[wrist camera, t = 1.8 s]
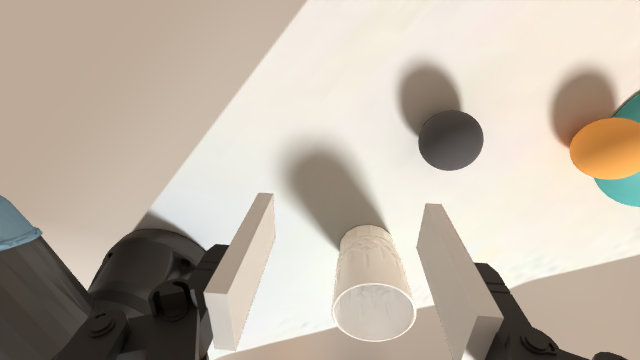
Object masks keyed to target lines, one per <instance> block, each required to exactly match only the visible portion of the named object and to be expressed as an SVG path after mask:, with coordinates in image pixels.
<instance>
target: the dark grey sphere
mask: <svg viewBox="0 0 640 360" xmlns="http://www.w3.org/2000/svg"><path fill="white" fill-rule="evenodd" d="M418 143H419V150H420V153H421V155H422V157H423V158H424V159H425V160H426V161H427V162H428V163H429V164H430V165H431V166H433V167H435V168H437V169H441V170H446V171H452V170H458V169H461V168H464V167H466V166H468V165H469V164H471V163H472V162H473V161H474V160H475V159H476V158H477V157H478V155H479V154H480V152H481V149H482V146H483V132H482V129H481V127H480V125H479V123H478V122H477V121H476V120H475V119H474V118H473V117H472V116H470V115H469V114H467V113H464V112H461V111H454V110H451V111H444V112H441V113H438V114H436V115H434V116H433V117H431V118H430V119H429V120H428V121H427V122H426V123H425V124H424V126H423V127H422V129H421V132H420V134H419V140H418Z"/></svg>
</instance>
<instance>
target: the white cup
mask: <svg viewBox="0 0 640 360" xmlns="http://www.w3.org/2000/svg"><path fill="white" fill-rule="evenodd" d="M332 317H333V320H334V322H335V324H336V325H337V326H338V327H339V329H341V330H342V331H343V332H344V333H346V334H347V335H349V336H351V337H353V338H356V339H359V340H364V341H375V342H376V341H385V340H390V339H393V338H396V337H398V336H400V335H402V334H404V333H405V332H406V331H407V330H408V329H409V328H410V327H411V326H412V325H413V323H414V321H415V318H416V306H415V303H414V300H413V297H412V294H411V290H410V287H409V284H408V280H407V277H406V274H405V271H404V267H403V264H402V262H401V259H400V256H399V253H398V252H397V249H396V246H395V243H394V241H393V239H392V236H391V235H390V234H389V233H388V232H387V231H385V230H384V229H383V228H381V227H377V226H373V225H363V226H357V227H355V228H353V229H351V230H349V231H348V232H346V234H345V235H344V237H343V238H342V240H341V242H340V252H339V257H338V261H337V267H336V275H335V284H334V294H333V303H332Z"/></svg>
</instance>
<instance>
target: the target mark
mask: <svg viewBox="0 0 640 360" xmlns="http://www.w3.org/2000/svg"><path fill="white" fill-rule="evenodd" d="M613 118H626V119H630V120H633V121H636V122H638V123H640V93H639V94H637V95H636V96H634V97H633V98H632V99H631V100H630V101H628V102H627V103H626V104H625V105H624V106H623V107H622V108H621V109H620V110H619V111H618V112H617V113H616V114H615V115H614V116H613ZM595 181H596V183H597V184H598V186H599V188H600V189H601V190H602V191H603V192H604V193H605V194H606V195H607V196H609V197H610V198H612V199H614V200H615V201H617V202H620V203H622V204H626V205H630V206H637V207H640V171H639V172H637V173H635V174H633V175H631V176H628V177H625V178H621V179H598V178H595Z"/></svg>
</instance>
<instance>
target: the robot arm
mask: <svg viewBox="0 0 640 360" xmlns="http://www.w3.org/2000/svg"><path fill="white" fill-rule="evenodd" d="M41 234H42V231H41V230H40V229H39V228H36V227H33V226H32V225H31V224H30V223H29V221H28V220H26V218H25V217H24V216H23V215H22V214H21V213H20V212H19V211H18V210H17V209H16V208H15V207H14V206H13V204H12V203H11V202H10V201H8V200H7V199H6V198H4V197H2V196H0V360H209V357H208V353H207V351H208V348H209V346H210V344H211V342H212V339H213V343H214V348H215V349H222V350H232V351H236V348H237V345H238V343H239V340H240V337H241V334H242V331H243V328H244V326H245V323H246V320H247V317H248V314H249V311H250V308H251V306H252V303H253V300H254V297H255V294H256V291H257V288H258V286H259V283H260V280H261V277H262V274H263V271H264V269H265V266H266V263H267V260H268V257H269V254H270V251H271V249H272V246H273V243H274V240H275V218H274V197H273V194H269V193H258V195H257V197H256V199H255V200H254V202H253V204H252V206H251V208H250V209H249V211H248V213H247V215H246V217H245V218H244V220H243V222H242V224H241V226H240V227H239V229H238V231H237V233H236V235H235V236H234V238H233V240H232V242H231V244H230V245H220V244H215V245H214V246H213V247H211V248H210V249H209V250H207V251H206V252H205V251H204V250H203V249H202V248H201V247H199V246H198V245H197V244H195V243H194V242H192V241H191V240H189V239H187V238H185V237H183V236H181V235H178V234H176V233H173V232H169V231H165V230H159V229H143V230H138V231H134V232H132V233H129V234H127V235H126V236H125V237H123V238H122V239H121V240H120V241H119V242H117V243H116V244H115V245H114V247H112V248H111V249H110V250H109V252H108V253H107V254H106V256H105V258H104V260H103V262H102V265H101V266H100V268H99V270H98V272H97V273H96V275H95V277H94V279H93V281H92V283H91V285H90V287H89V289H88V291H87V290H86V289H85V288H84V287H83V286H82V285H81V283H80V282H79V281H78V280H77V279H76V277H75V276H74V275H73V274H72V272H71V271H70V270H69V269H68V268H67V266H66V265H65V264H64V263H63V262H62V260H61V259H60V258H59V257H58V256H57V254H56V253H55V252H54V251H53V250H52V248H51V247H50V246H49V245H48V244H47V243H46V241H45V240H44V239H43V238H42V236H41ZM416 248H417V251H418V254H419V257H420V260H421V263H422V266H423V269H424V272H425V276H426V279H427V282H428V285H429V288H430V291H431V294H432V297H433V300H434V303H435V306H436V310H437V313H438V316H439V319H440V322H441V325H442V328H443V331H444V334H445V337H446V340H447V344H448V347H449V350H450V353H451V356H452V359H453V360H589V359H586V358H583V357H580V356H577V355H574V354H571V353H568V352H566V351H563V350H561V349H559V348H558V346H557V345H556V343H555V342H554V341H553V340H552V339H551V338H550V337H549V336H547V335H546V334H544V333H543V332H542V331H540V330H537V329H535V328H533V327H532V326H531V324H530V323H529V321H528V320H527V318H526V317H525V315H524V313H523V312H522V310H521V309H520V307H519V305H518V304H517V302H516V301H515V299H514V297H513V296H512V295H511V294H510V291H509V289H508V288H507V286H505V283H504V282H503V280H502V278H501V277H500V275H499V274H498V272H496V271H495V270H494V269H493V268H492V267H491V266H489V265H488V264H487V263H474V262H473V261H472V259H471V257H470V255H469V253H468V252H467V250H466V248H465V246H464V244H463V243H462V241H461V239H460V237H459V235H458V233H457V232H456V230H455V228H454V226H453V224H452V223H451V221H450V219H449V217H448V215H447V214H446V212H445V210H444V208H443V206H442V204H428V203H426V205H425V209H424V214H423V219H422V223H421V228H420V233H419V238H418V242H417V247H416ZM592 360H627V359H625V358H623V357H622V356H619V355H616V354H613V353H610V352H600V353H598V354H595V356H594V357H593V358H592Z"/></svg>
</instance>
